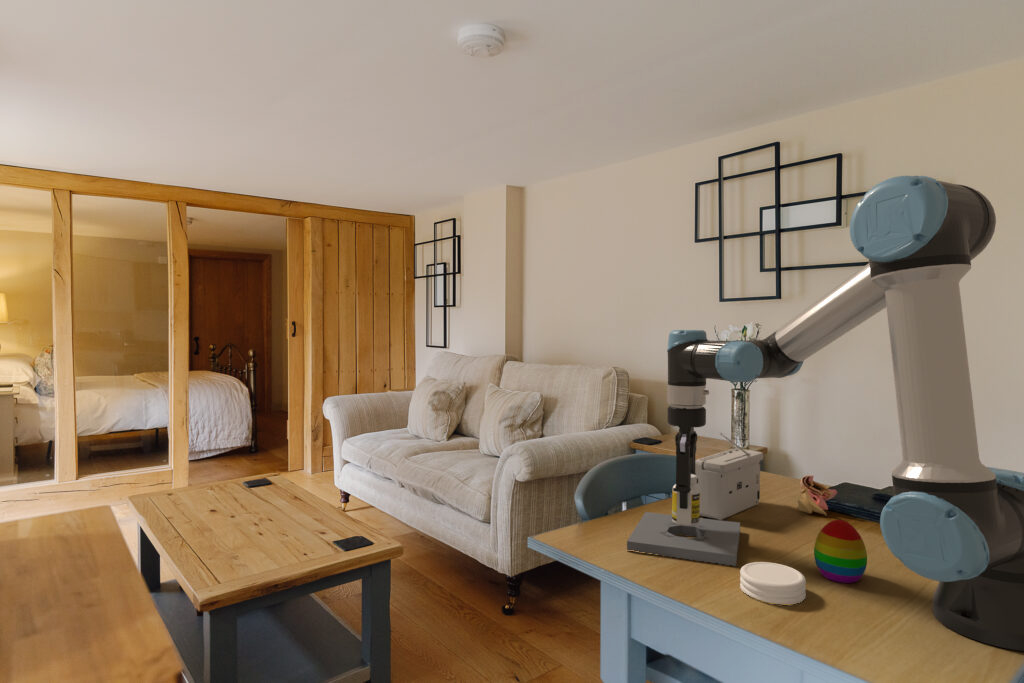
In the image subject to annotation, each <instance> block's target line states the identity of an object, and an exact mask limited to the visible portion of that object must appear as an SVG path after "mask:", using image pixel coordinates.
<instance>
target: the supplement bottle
mask: <svg viewBox="0 0 1024 683" xmlns="http://www.w3.org/2000/svg"><path fill="white" fill-rule="evenodd" d="M696 482H697V476H696V475H694V474H691V484H690V488H691V525H687V524H678V523H677V491H673V490H672V495H671V496H672V498H671V500H672V502H671V507H672V508H671V515H672V521H673V522H674V523H675V524H678V525H682V526H696V525H698V524H699V518H700V516H699V514H700V489H699V487H698V486H696V485H695V484H696ZM675 486H676V483H674V485H673V486H672V489H673V488H675Z"/></svg>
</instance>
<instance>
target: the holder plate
mask: <svg viewBox="0 0 1024 683" xmlns="http://www.w3.org/2000/svg"><path fill="white" fill-rule="evenodd" d="M680 534H681V535H680ZM685 536H690V537H685ZM740 537H741V522H737V521H728V520H718V519H713V518H703V517H699V524H698V525H696V526H682V525H678V524H675V523H674V522H673V521H672V514H665V513H659V512H650V511H649V512H648V511H645V512H644V513H643V515H642V517H641V519H640V520H639V521H638V523H637V525H636V526H635V528H634V529H633V531H632V533H631V534H630V536H629V537H628V538H627V541H626V551H627V550H634V551H639V552H645V553H652V554H658V555H664V556H663V557H665V556H671V557H670V558H672V557H676V558H675V559H679V558H684V559H683V560H686V559H689V560H688V561H693V560H697V561H696V562H700V561H704V562H703V563H707V562H711V563H710V564H715V563H718V564H717V565H722V564H725V565H724V566H729V565H732V566H731V567H737V559H738V554H737V553H738V552H739V551H738V550H739V544H740Z"/></svg>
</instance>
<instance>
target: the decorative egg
mask: <svg viewBox="0 0 1024 683" xmlns="http://www.w3.org/2000/svg"><path fill="white" fill-rule="evenodd" d="M814 541H815V542H814V546H813V547H814V548H813V556H814V558H813V559H814V562H815V565H816V566H817V569H818V570H819V572H820V574H821V575H822V576H823V577H824V578H825V579H828V580H830V581H832V582H837V583H840V582H841V583H842V584H854V583H856V582H858V581H859V580H860V579H862V577H863V575H864V574H865V572H866V569H867V564H868V552H867V548H866V545H865V543H864V540H863V538H862V536H861V535H860V532H858V530H857V529H856V528H855V527H854V526H853V525H852V524H851V523H849V522H847V521H845V520H842V519H834V520H832V521H829V522H828V523H826V524H825V525H823V527H822V528H821V530H820V531H819V532H818V534H817V536H816V538H815V540H814ZM841 583H840V584H841Z"/></svg>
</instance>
